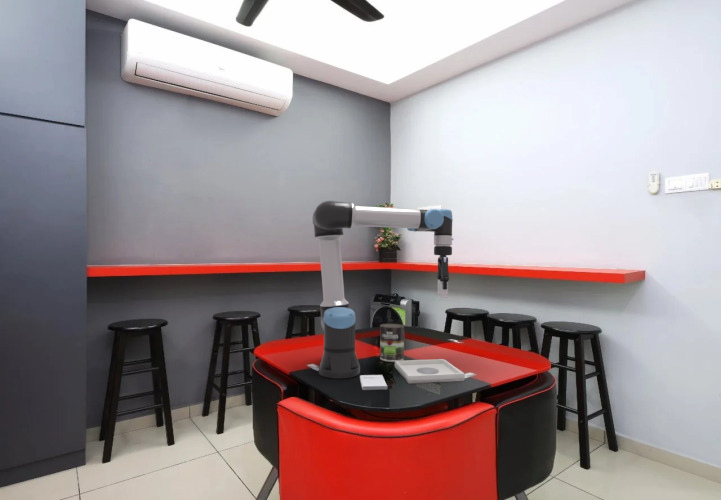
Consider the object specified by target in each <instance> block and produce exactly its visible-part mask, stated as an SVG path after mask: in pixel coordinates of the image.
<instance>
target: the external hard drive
mask: <svg viewBox="0 0 721 500" xmlns="http://www.w3.org/2000/svg"><path fill="white" fill-rule="evenodd" d="M359 381H360V386H361V389H362V391H372V390H373V391H375V390H376V391H377V390H388V385H387V383H386V381H385V378H384V376H383V374H364V375H361V374H360V375H359Z"/></svg>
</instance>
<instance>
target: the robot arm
mask: <svg viewBox="0 0 721 500" xmlns="http://www.w3.org/2000/svg"><path fill="white" fill-rule="evenodd" d="M453 221H454V220H453V212H452V210H451V209H447V208H441V209H440V208H439V209H437V208H430V209H420V208H419V209H418V208H400V207H386V206H385V207H383V206H382V207H381V206H367V205H366V206H365V205H364V206H363V205H361V206H360V205H355V204H354V203H353V202H344V201H336V200H324V201H322V202H321V203H319V204H318V205H317V206H316V208H315V209H314V212H313V215H312V224H313V230H314V231H313V232H314V238H315V240H316V241H318V246H319V258H320V272H321V285H322V286H321V287H322V297H323V300H322V302H321V303H320V304H319V307H320V326H321V329H322V331H323V353H322V357H321V360H320V362H319V366H318V367H319V368H318V374H319V375H320V376H322V377H324V378H328V379H349V378H354V377H357V376H359V375H360V373H361V366H360V363H359V362H360V361H359V360H358V357H357V354H356V320H357V319H356V312H355V311H354V310H353V309H352V308H350V304H349V301H347V299H346V298H345V286H344V275H343V263H342V262H343V261H342V250H341V248H342V247H341V239H342V238H343V237H344V229H352V228H353V227H371V228H372V227H373V228H393V229H394V228H395V229H396V228H397V229H407V230H408V231H409V232H413V233H415V232H424V233H425V232H432V233H434V234H433V245H434V247H433V255H434V256H439V257H438V258H437V273H436V274H437V276H436V278H437V295H438V296H439V295H440V298H445V299H446V298H449V280H450V276H449V275H450V273H449V257H448V256H452V254H453V247H452V246H453V241H454V238H453Z"/></svg>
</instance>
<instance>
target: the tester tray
mask: <svg viewBox="0 0 721 500" xmlns="http://www.w3.org/2000/svg"><path fill="white" fill-rule="evenodd" d="M394 369H396V371H397V372H398V373H399V374H400V375H401V377H402V378H403V379H404V380H405V381H406V383H408V384H427V383H446V382H447V383H449V382H465V381H466V380H465V379H466V377H465V376H466V375H465V373H464V372H463V371H462V370H461V369H459V368H458V367H456V366H454V365H453V364H452V363H450V362H449V361H448V360H446V359H444V358H439V359H438V358H436V359H412V360H407V359H406V360H403V361H395V362H394Z"/></svg>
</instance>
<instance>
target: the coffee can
mask: <svg viewBox="0 0 721 500" xmlns="http://www.w3.org/2000/svg"><path fill="white" fill-rule="evenodd" d="M379 327H380V330H379V333H380V334H379V335H380V336H379V338H380V339H379V345H380V346H379V356H380V357H379V359H380V360H381V361H384V362H389V363H390V362H391V363H395V361H405V325H404V324H401V323H382V324H380V325H379Z"/></svg>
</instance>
